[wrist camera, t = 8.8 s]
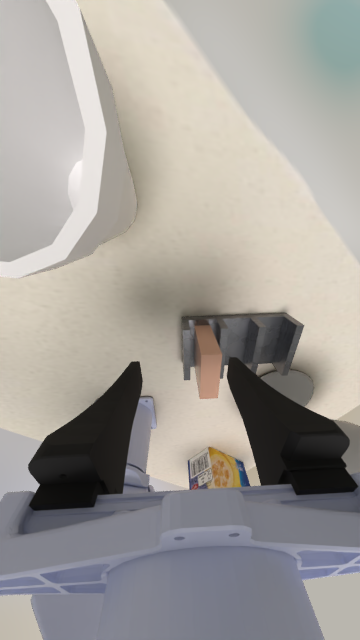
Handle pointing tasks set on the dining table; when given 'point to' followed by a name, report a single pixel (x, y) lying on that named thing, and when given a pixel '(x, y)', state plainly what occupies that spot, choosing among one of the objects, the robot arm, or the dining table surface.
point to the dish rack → (246, 339)
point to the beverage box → (216, 471)
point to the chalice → (301, 391)
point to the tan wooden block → (207, 361)
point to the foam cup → (56, 141)
